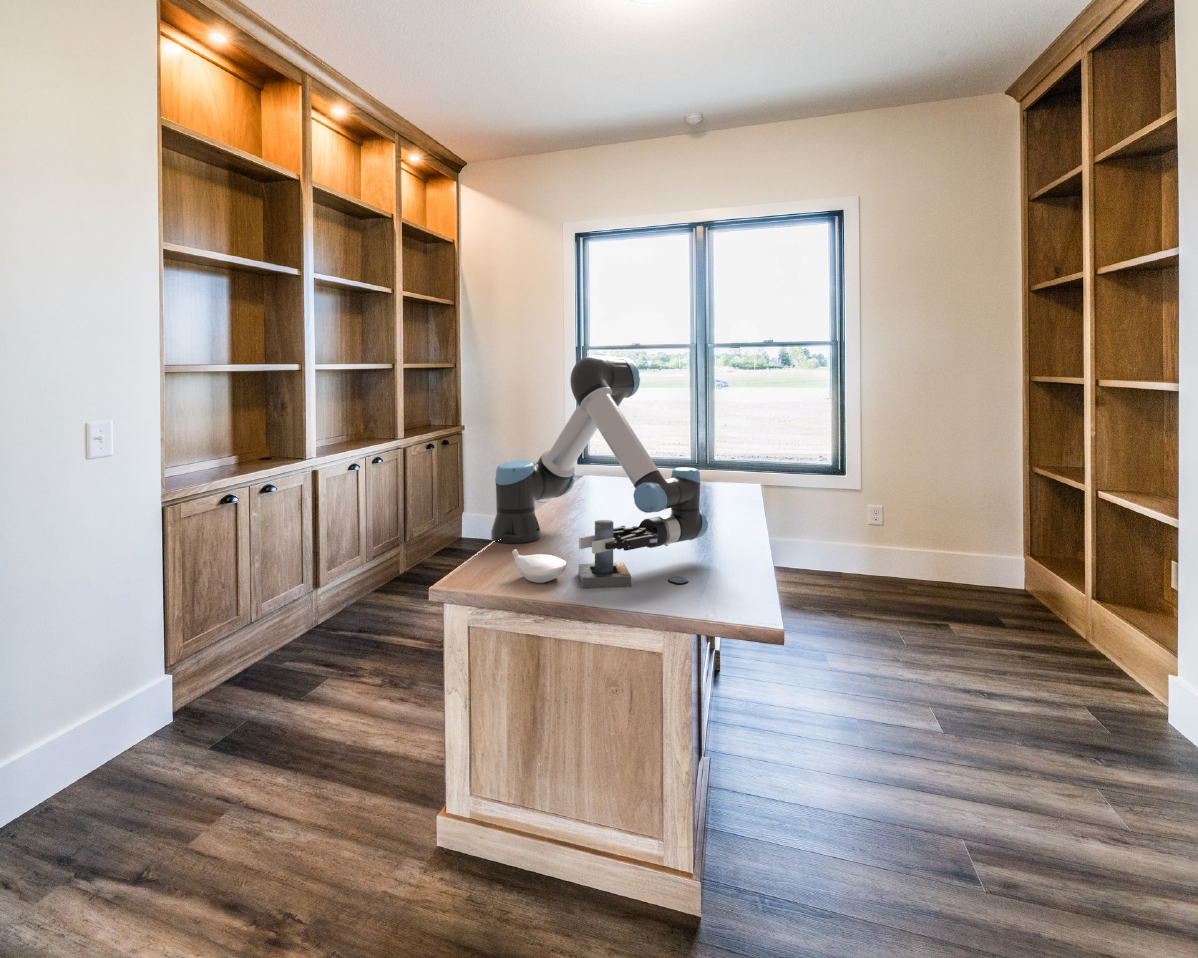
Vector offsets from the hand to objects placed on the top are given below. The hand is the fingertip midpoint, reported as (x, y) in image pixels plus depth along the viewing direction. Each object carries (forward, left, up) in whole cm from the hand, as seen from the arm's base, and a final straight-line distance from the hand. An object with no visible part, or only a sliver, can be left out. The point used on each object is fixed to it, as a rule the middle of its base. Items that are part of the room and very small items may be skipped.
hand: (586, 545), depth 153 cm
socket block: (0, +5, -9) cm, 11 cm away
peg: (0, +5, -7) cm, 9 cm away
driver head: (-9, -7, -10) cm, 15 cm away
